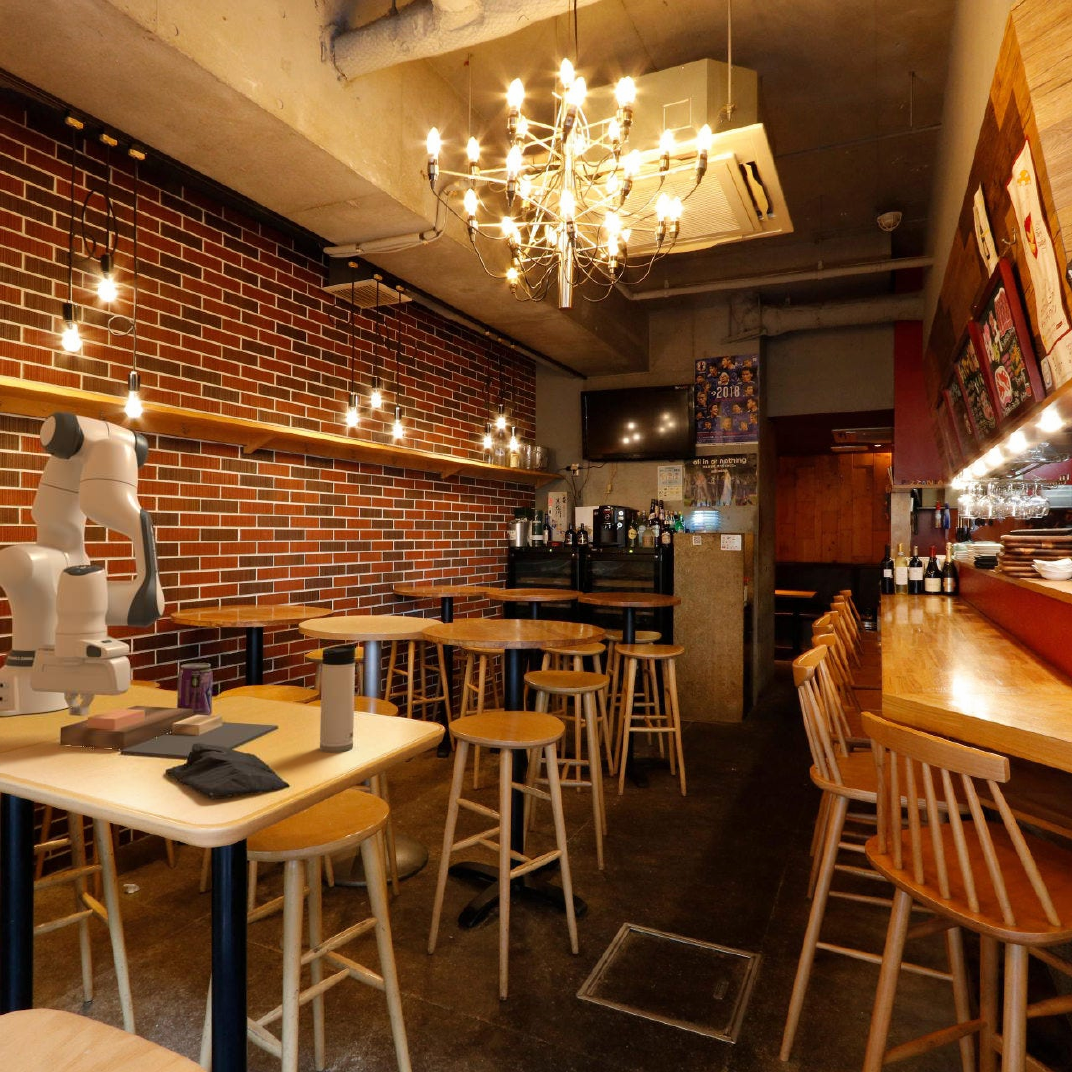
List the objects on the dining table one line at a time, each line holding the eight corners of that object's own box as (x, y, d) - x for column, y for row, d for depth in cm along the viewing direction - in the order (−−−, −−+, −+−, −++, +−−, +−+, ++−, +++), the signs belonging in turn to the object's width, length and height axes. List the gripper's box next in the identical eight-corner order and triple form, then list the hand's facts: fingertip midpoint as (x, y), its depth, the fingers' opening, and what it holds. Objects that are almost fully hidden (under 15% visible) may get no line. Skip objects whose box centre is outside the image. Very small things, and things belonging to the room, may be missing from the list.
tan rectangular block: (172, 733, 144) (172, 723, 144) (196, 724, 152) (196, 714, 152) (199, 735, 143) (199, 725, 143) (222, 725, 151) (222, 716, 151)
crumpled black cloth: (195, 811, 105) (196, 779, 105) (162, 773, 122) (162, 746, 122) (296, 790, 114) (297, 761, 115) (252, 758, 131) (253, 733, 132)
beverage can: (201, 722, 156) (203, 668, 156) (170, 721, 156) (172, 667, 157) (217, 714, 163) (218, 662, 163) (186, 714, 163) (188, 662, 164)
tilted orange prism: (87, 727, 136) (87, 717, 136) (118, 718, 144) (119, 708, 144) (114, 729, 135) (114, 719, 135) (144, 720, 143) (144, 710, 143)
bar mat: (120, 753, 131) (120, 750, 131) (202, 723, 155) (202, 720, 155) (207, 760, 128) (207, 757, 128) (278, 728, 152) (278, 725, 152)
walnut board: (60, 745, 136) (60, 727, 136) (135, 721, 156) (136, 705, 156) (123, 750, 133) (124, 732, 134) (192, 725, 153) (193, 709, 153)
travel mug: (360, 748, 138) (363, 646, 138) (329, 754, 133) (332, 648, 134) (344, 741, 142) (346, 642, 143) (314, 747, 138) (316, 645, 138)
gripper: (22, 646, 140) (20, 716, 140) (113, 650, 137) (111, 721, 136) (49, 642, 146) (47, 709, 146) (136, 646, 143) (134, 714, 142)
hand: (78, 715), depth 141 cm, fingers closed
